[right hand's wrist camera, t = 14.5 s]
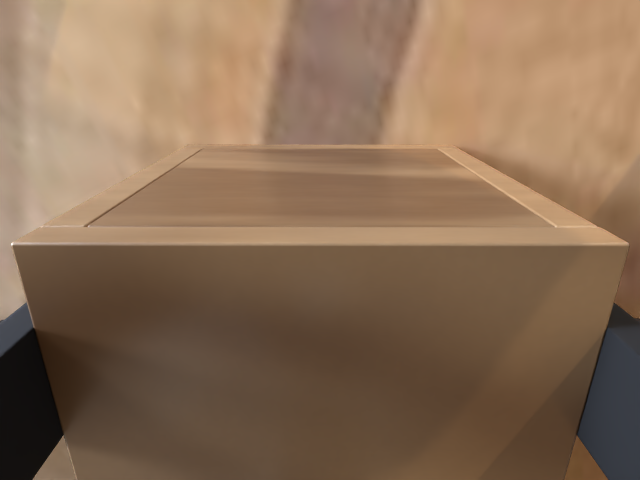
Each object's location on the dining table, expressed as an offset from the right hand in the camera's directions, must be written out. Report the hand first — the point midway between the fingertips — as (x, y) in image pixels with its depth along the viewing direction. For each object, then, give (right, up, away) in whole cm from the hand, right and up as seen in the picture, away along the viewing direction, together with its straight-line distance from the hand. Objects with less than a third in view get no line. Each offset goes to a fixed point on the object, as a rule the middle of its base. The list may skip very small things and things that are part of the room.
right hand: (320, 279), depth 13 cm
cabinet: (0, -3, +8) cm, 9 cm away
